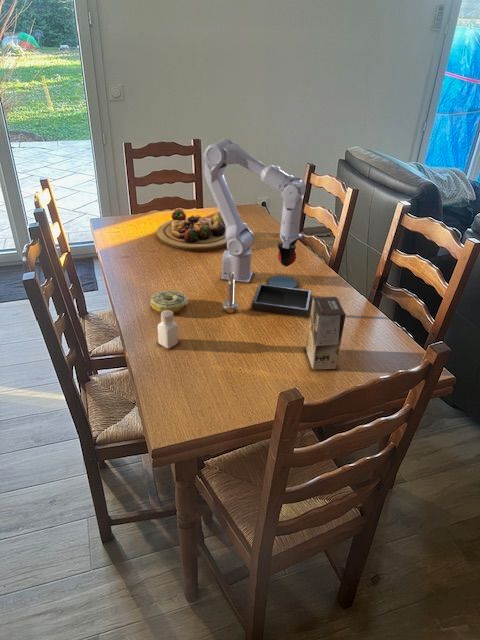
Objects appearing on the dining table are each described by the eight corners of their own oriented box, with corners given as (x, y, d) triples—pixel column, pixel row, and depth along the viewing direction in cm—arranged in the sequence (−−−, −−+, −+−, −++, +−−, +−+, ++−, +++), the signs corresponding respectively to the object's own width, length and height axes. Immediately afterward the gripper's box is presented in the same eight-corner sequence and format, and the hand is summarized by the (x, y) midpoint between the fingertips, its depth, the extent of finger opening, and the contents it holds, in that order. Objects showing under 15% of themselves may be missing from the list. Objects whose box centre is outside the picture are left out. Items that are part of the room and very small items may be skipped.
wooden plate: (147, 227, 194) (145, 207, 190) (217, 218, 206) (218, 200, 202) (170, 257, 170) (170, 236, 165) (249, 245, 182) (250, 225, 177)
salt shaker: (168, 337, 127) (167, 307, 122) (179, 343, 125) (178, 313, 119) (157, 344, 124) (155, 313, 119) (168, 350, 122) (166, 319, 117)
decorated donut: (194, 307, 141) (194, 296, 139) (166, 320, 134) (166, 309, 132) (171, 295, 146) (171, 284, 144) (144, 307, 140) (143, 296, 138)
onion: (293, 271, 148) (296, 248, 143) (275, 269, 149) (278, 245, 144) (295, 263, 153) (298, 241, 148) (278, 261, 153) (280, 238, 149)
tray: (252, 309, 141) (252, 302, 140) (259, 290, 152) (259, 283, 150) (306, 317, 139) (307, 310, 137) (310, 297, 149) (311, 290, 148)
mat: (266, 288, 153) (266, 287, 153) (270, 275, 161) (270, 274, 161) (295, 292, 151) (295, 291, 151) (298, 279, 159) (298, 278, 159)
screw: (240, 314, 139) (224, 315, 137) (235, 306, 142) (220, 307, 141) (241, 274, 132) (225, 276, 130) (237, 267, 135) (221, 268, 134)
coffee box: (336, 369, 118) (347, 315, 109) (311, 370, 117) (320, 315, 109) (327, 348, 126) (337, 296, 117) (304, 348, 125) (311, 296, 116)
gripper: (301, 230, 136) (296, 272, 143) (306, 213, 148) (301, 253, 155) (277, 227, 137) (273, 269, 144) (284, 211, 149) (280, 250, 156)
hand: (286, 260), depth 149 cm, fingers closed on onion, 6 cm apart
